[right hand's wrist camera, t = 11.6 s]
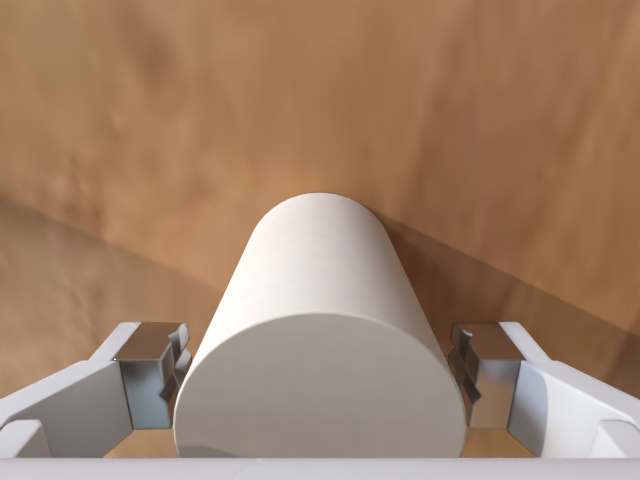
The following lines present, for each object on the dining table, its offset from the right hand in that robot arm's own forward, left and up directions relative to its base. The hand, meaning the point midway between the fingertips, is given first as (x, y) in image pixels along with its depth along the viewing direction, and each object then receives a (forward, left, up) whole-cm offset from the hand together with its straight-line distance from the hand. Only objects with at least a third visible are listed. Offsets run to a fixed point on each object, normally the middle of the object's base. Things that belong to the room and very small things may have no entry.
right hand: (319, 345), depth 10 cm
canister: (0, 0, -5) cm, 5 cm away
